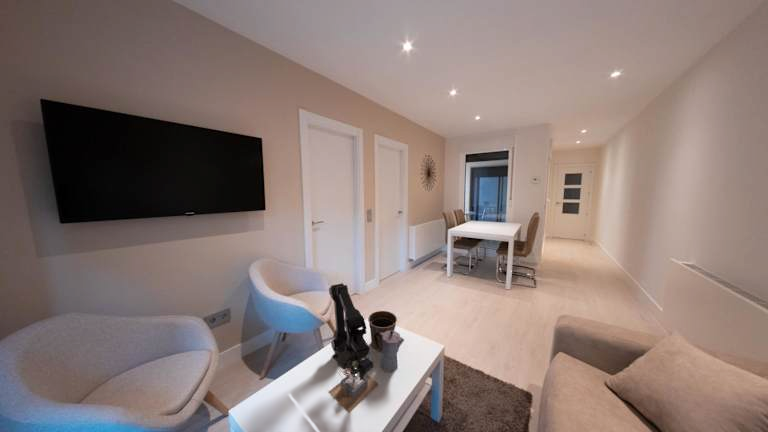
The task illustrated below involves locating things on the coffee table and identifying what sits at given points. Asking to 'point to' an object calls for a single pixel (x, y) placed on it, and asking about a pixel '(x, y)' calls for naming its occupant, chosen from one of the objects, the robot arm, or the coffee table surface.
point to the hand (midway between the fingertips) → (354, 373)
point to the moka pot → (389, 349)
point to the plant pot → (381, 326)
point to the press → (356, 392)
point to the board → (346, 400)
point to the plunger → (353, 378)
